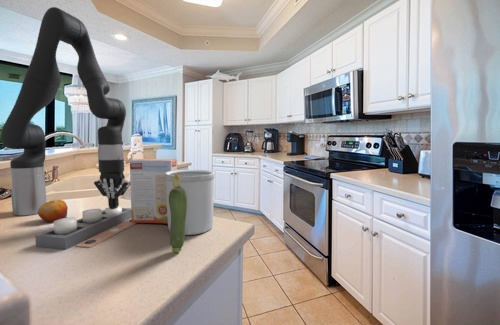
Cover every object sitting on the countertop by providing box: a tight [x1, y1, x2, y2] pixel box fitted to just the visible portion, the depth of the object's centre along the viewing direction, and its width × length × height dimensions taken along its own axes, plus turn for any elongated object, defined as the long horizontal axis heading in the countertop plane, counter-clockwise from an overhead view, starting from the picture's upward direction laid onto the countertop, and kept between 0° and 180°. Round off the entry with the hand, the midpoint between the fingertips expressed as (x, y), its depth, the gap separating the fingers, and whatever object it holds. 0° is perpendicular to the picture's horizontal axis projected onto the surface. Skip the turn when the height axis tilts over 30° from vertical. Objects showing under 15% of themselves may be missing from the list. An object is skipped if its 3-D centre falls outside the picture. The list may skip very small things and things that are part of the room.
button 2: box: [104, 205, 123, 215], centre depth 85 cm, size 5×5×3 cm
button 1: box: [53, 217, 78, 235], centre depth 67 cm, size 5×5×3 cm
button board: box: [34, 207, 132, 250], centre depth 76 cm, size 9×27×3 cm, turn 170°
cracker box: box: [129, 158, 178, 225], centre depth 82 cm, size 14×6×21 cm, turn 84°
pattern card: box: [74, 218, 139, 249], centre depth 75 cm, size 4×23×1 cm, turn 170°
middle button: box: [81, 208, 103, 224], centre depth 76 cm, size 5×5×3 cm
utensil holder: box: [165, 169, 216, 236], centre depth 77 cm, size 15×15×18 cm
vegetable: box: [169, 172, 187, 254], centre depth 61 cm, size 4×4×20 cm
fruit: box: [37, 199, 68, 223], centre depth 85 cm, size 8×8×8 cm
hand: (113, 208), depth 85 cm, fingers closed
